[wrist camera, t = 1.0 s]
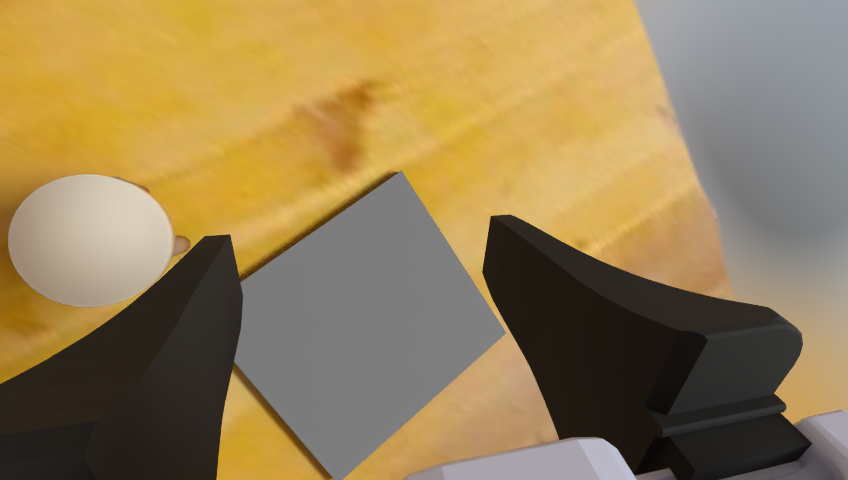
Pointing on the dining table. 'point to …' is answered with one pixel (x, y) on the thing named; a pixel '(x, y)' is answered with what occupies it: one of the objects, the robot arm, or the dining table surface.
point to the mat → (361, 325)
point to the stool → (92, 240)
